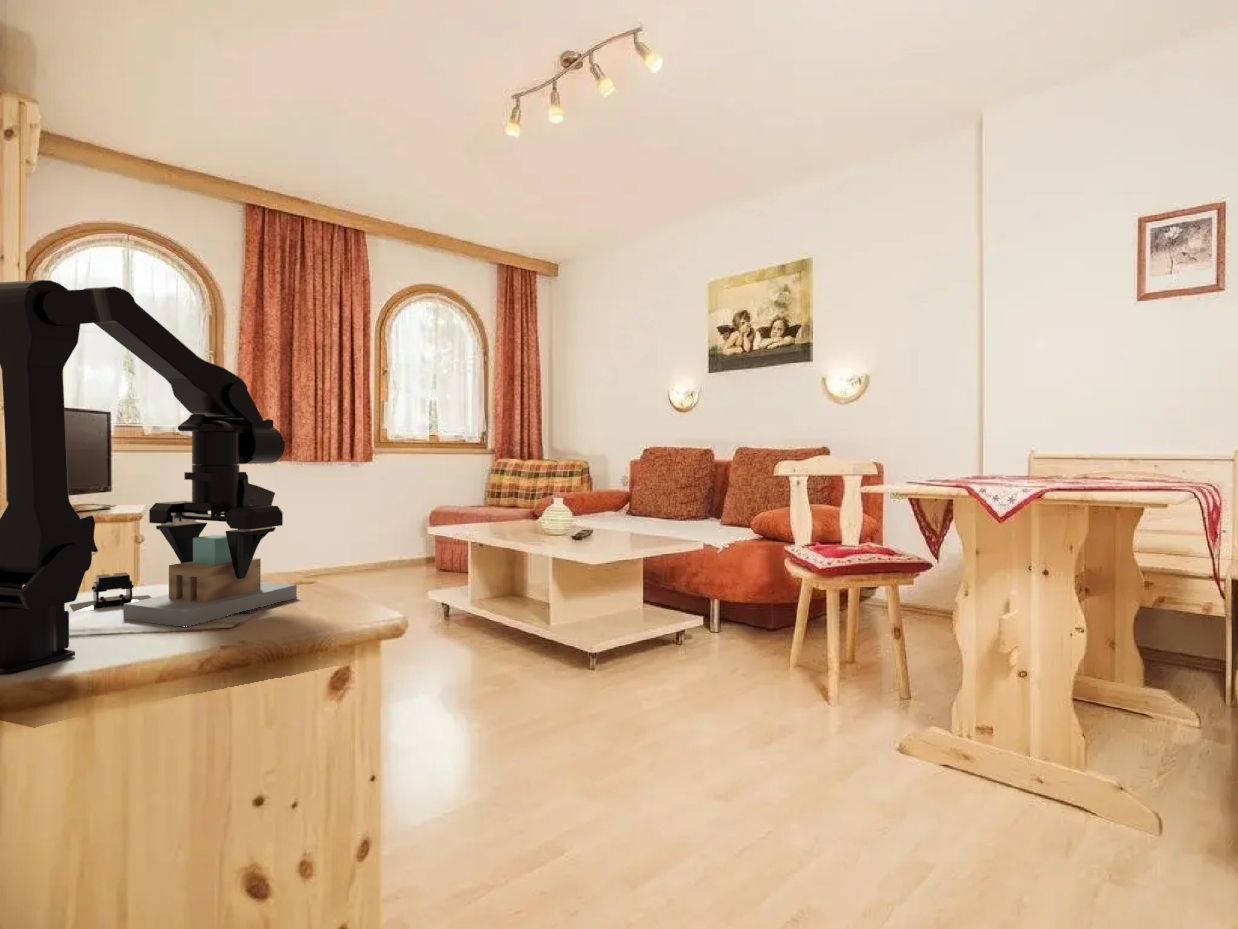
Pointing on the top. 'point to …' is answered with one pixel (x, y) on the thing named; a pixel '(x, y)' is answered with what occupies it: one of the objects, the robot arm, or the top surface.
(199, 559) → the teal cube
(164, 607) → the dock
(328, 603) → the top surface
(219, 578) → the wooden slotted block
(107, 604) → the black open frame block
